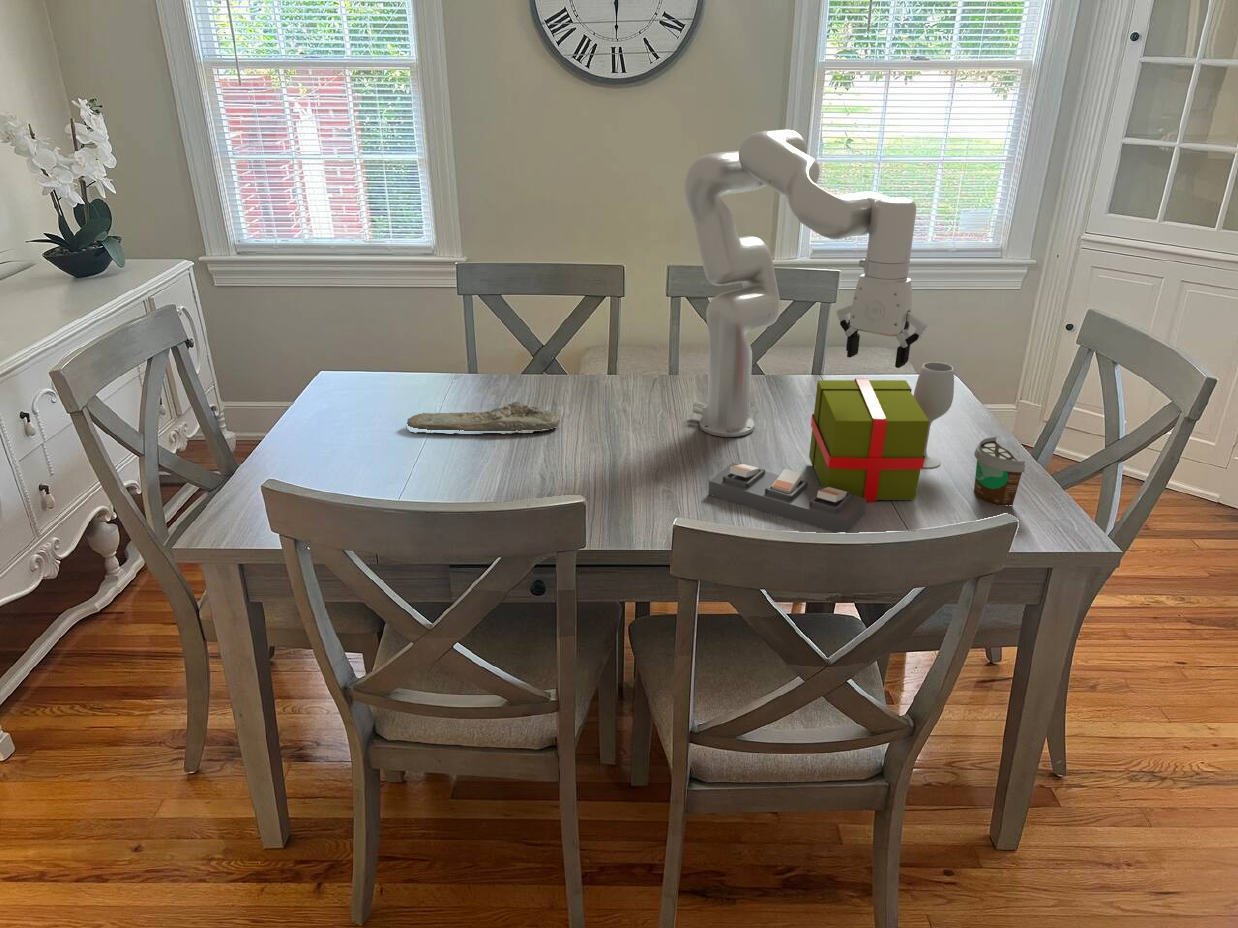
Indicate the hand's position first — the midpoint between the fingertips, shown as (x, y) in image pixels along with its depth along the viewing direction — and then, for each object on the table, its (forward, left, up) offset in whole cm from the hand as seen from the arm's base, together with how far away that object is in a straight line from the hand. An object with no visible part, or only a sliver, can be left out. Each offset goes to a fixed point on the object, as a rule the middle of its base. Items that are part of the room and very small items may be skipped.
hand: (875, 360), depth 166 cm
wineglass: (+7, +18, -26) cm, 33 cm away
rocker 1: (-18, -16, -21) cm, 32 cm away
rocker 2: (-9, -16, -21) cm, 28 cm away
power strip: (-9, -16, -26) cm, 32 cm away
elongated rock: (-82, -21, -27) cm, 89 cm away
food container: (+22, +9, -26) cm, 35 cm away
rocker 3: (0, -16, -21) cm, 27 cm away
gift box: (-2, +3, -26) cm, 27 cm away
